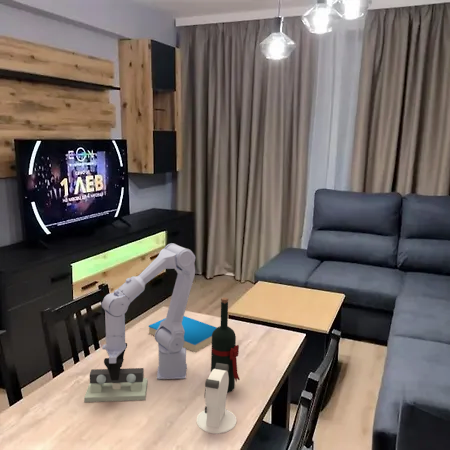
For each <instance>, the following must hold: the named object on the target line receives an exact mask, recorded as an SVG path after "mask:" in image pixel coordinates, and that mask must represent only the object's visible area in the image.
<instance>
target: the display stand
mask: <svg viewBox="0 0 450 450" xmlns="http://www.w3.org/2000/svg"><path fill="white" fill-rule="evenodd" d="M147 389H148V377H144V378H143V382H133V383H129V382H123V383H103V384H99V383H91V384H90V382H89V384H88V386H87V389H86V392H85V394H84V398H83V400H84V403H101V402H103V403H104V402H123V401H124V402H125V401H127V402H128V401H132V402H133V401H146V397H147V396H146V395H147Z"/></svg>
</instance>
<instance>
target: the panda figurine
mask: <svg viewBox="0 0 450 450" xmlns="http://www.w3.org/2000/svg"><path fill="white" fill-rule="evenodd" d="M228 370H229V365H227V364H221V363H216V366H215V369H213V370H212V372H211V371H210V372H209V376H208V378H206V380H205V382H204V386H205V389H204V403H205V407H204V410H202V411H200V412H199V413H198V414H197V416H196V420H195V421H196V424H197V428H199V429H200V430H201V431H203V432H205V433H208V434H214V435H222V434H226V433H228V432H230V431H232V430H233V429H234V428H235V426H236V425H237V417H236V415H235V414H234V413H233V412H232V411H230V410H228V409H226V405H227V394H228V393H227V391H228V384H229V376H228Z"/></svg>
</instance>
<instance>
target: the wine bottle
mask: <svg viewBox="0 0 450 450" xmlns="http://www.w3.org/2000/svg"><path fill="white" fill-rule="evenodd" d="M220 301H221V302H220V325H219V326H217V328H216V329H215V330H214V331H213V333H212V343H211V350H210V351H211V353H210V354H211V356H210V360H211V361H210V362H211V363H210V373H211V372H212V370H213V369H215V366H216V363H221V364H227V365H229V370H228V376H229V384H228V391H227V394H228V393H231V392H233V391H234V389H235V388H236V387H235V386H236V383H237V380H239V381H240V377H239V373H238V365H237V364H238V362H237V357H238V356H239V354H240V352H239V351H240V350H239V349H240V346H239V344H237V345H236V341H237V340H236V339H237V336H236V333H235V331H234V330H233V328H231V327H230V326H228V323H229V321H228V319H229V317H228V316H229V298H228V297H222V298H220Z"/></svg>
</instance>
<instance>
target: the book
mask: <svg viewBox="0 0 450 450" xmlns="http://www.w3.org/2000/svg"><path fill="white" fill-rule="evenodd" d="M165 319H166V317H165V318H163V319H161V320H157V321H156V322H154V323H151V324H149V325H148V332H149V334H150V335H153V336H154V337H155V333H156V331H157V329H158V328H159V326H160V323H161V322H162V321H163V320H165ZM182 326H183V328H184V331H185V333H184V346H183V348H186V350H189V351H191V352H193V351H194V352H193V353H197V352H199V351H201V350H202V349H204V348H206V347H207V346H209V345H212V333H213V331H214V330H215V329H216V328H217V327H218V326H217V327H216V326H214V325H211V324H209V323H206V322H202V321H199V320H197V319H194V318H191V317H187V316H185V315H184V316H183V320H182Z"/></svg>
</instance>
